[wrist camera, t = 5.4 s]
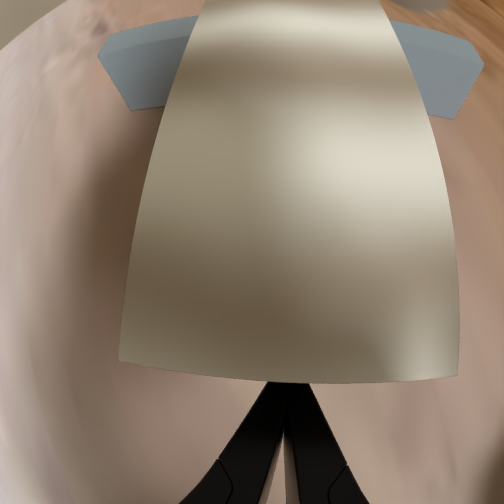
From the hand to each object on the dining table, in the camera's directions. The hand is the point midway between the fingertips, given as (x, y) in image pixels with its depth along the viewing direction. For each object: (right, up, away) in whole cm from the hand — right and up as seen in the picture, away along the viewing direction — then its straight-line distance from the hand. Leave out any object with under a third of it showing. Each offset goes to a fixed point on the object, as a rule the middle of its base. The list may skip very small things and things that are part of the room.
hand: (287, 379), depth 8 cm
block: (+1, +6, +8) cm, 10 cm away
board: (+2, +15, +11) cm, 19 cm away
